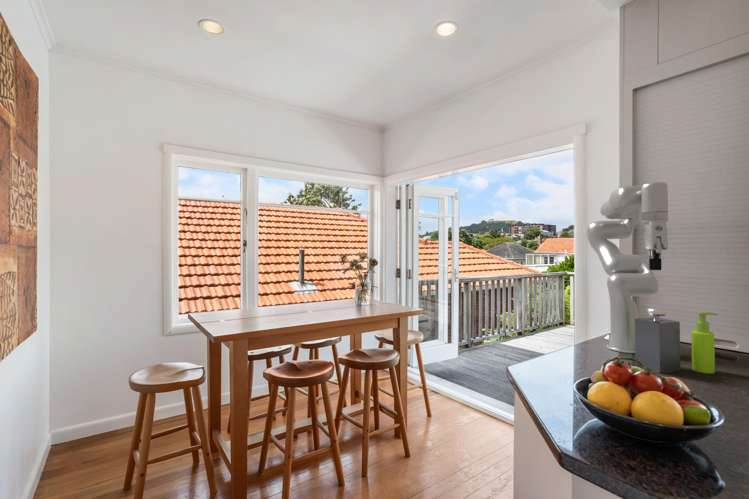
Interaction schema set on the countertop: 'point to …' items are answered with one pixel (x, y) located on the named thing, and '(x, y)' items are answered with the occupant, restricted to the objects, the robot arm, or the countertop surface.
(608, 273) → the robot arm
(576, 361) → the countertop surface
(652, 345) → the block
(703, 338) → the soap dispenser
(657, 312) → the plunger
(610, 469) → the countertop surface
